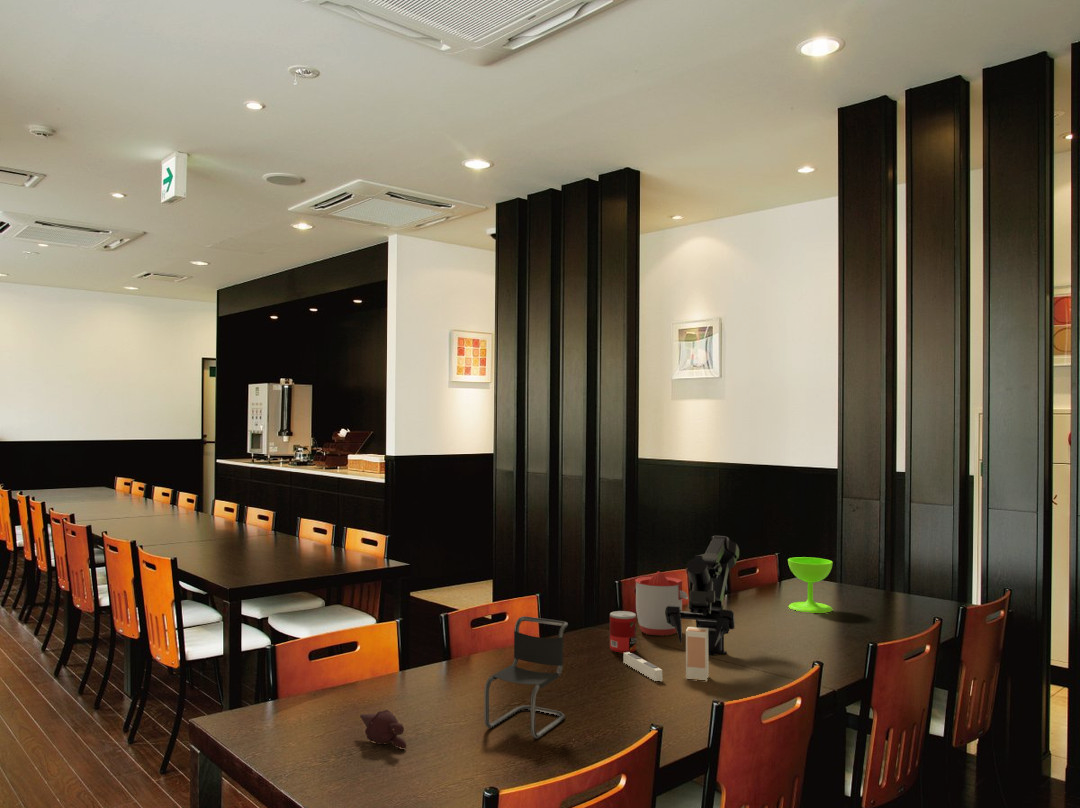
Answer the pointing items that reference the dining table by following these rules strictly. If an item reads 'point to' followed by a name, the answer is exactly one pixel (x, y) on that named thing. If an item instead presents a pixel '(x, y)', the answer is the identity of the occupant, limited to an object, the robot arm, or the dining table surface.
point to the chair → (536, 652)
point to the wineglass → (810, 581)
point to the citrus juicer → (657, 602)
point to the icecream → (383, 728)
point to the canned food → (623, 631)
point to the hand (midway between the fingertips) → (697, 644)
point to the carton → (697, 653)
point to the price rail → (643, 666)
